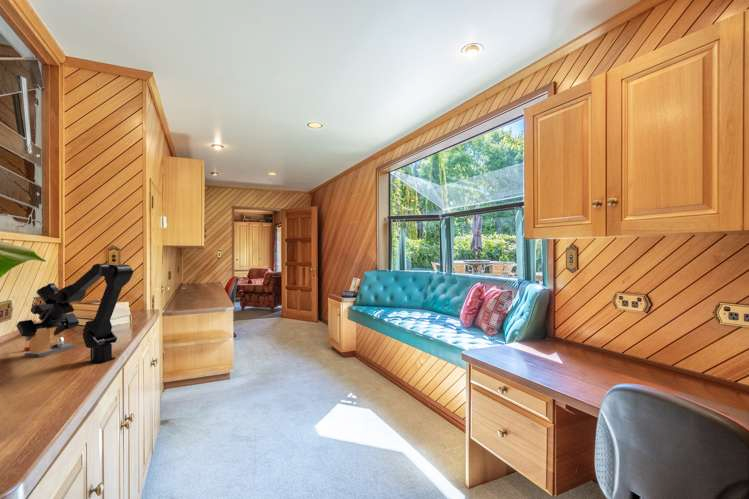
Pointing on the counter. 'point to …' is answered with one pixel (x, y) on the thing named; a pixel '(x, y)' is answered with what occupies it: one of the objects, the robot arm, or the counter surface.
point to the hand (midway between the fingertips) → (40, 337)
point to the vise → (52, 348)
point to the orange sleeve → (40, 341)
